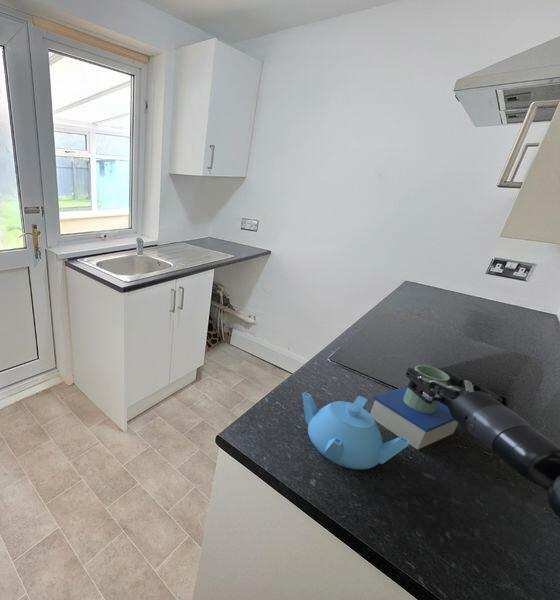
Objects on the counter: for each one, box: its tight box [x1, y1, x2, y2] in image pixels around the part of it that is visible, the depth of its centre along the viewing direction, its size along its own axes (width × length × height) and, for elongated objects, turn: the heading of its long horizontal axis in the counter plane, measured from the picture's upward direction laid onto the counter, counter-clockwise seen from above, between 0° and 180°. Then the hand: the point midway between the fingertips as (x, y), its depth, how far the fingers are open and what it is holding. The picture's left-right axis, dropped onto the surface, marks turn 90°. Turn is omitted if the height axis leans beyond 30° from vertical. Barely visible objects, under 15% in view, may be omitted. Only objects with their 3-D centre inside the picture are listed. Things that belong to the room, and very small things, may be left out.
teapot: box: [301, 391, 410, 470], centre depth 65 cm, size 15×15×11 cm
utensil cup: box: [403, 364, 450, 413], centre depth 72 cm, size 6×6×9 cm
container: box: [369, 385, 459, 450], centre depth 75 cm, size 16×12×6 cm
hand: (427, 372), depth 71 cm, fingers open, 8 cm apart
